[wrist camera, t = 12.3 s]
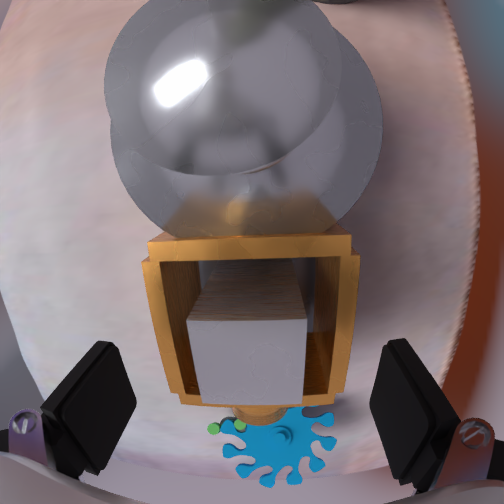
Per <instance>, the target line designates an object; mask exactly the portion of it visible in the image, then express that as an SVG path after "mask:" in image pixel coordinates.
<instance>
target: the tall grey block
mask: <svg viewBox="0 0 504 504" xmlns="http://www.w3.org/2000/svg"><path fill="white" fill-rule="evenodd" d="M186 322H187V328H188V334H189V340H190V345H191V350H192V356H193V361H194V366H195V371H196V376H197V381H198V385H199V390H200V395H201V399H202V403H208V404H227V405H287V404H302V396H303V384H304V370H305V354H306V336H307V316H306V312H305V308H304V304H303V300H302V296H301V292H300V288H299V284H298V280H297V276H296V272H295V269H294V265H293V261H292V258H267V259H235V260H219V261H218V263H217V264H216V266H215V268H214V270H213V272H212V273H211V275H210V277H209V279H208V281H207V283H206V284H205V286H204V288H203V290H202V292H201V294H200V296H199V297H198V299H197V301H196V303H195V305H194V307H193V309H192V310H191V312H190V314H189V316H188V318H187V320H186Z"/></svg>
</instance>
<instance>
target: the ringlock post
mask: <svg viewBox="0 0 504 504" xmlns="http://www.w3.org/2000/svg"><path fill="white" fill-rule="evenodd" d="M104 94H105V100H106V106H107V109H108V112H109V115H110V118H111V128H110V134H111V146H112V152H113V157H114V161H115V165H116V168H117V170H118V173H119V176H120V178H121V181H122V182H123V184H124V186H125V188H126V190H127V192H128V194H129V195H130V197H131V198H132V199H133V201H134V202H135V203H136V205H137V206H138V208H139V209H140V210H141V211H142V212H143V213H144V214H145V215H146V216H147V217H148V218H149V219H150V220H151V221H152V222H154V223H155V224H156V225H157V226H158V227H160V228H161V229H162V230H163V231H165V232H163V233H162V234H160V235H158V236H157V237H155V238H153V239H152V240H150V241H149V242H147V243H148V251H149V257H147V258H146V259H145V260H143V261H142V262H141V263H142V269H143V275H144V281H145V287H146V292H147V297H148V302H149V307H150V312H151V317H152V322H153V326H154V330H155V335H156V339H157V343H158V347H159V351H160V355H161V359H162V363H163V367H164V370H165V374H166V378H167V381H168V385H169V388H170V391H171V393H177V394H179V398H180V401H181V404H186V405H197V406H211V407H232V410H233V413H234V415H235V416H236V417H237V418H238V419H239V420H240V421H242V422H244V423H246V424H249V425H254V426H264V425H269V424H273V423H275V422H277V421H279V420H280V419H281V418H283V417H284V416H285V414H286V413H287V410H288V407H302V406H316V405H328V404H334V399H335V393H342V392H344V386H345V381H346V375H347V370H348V364H349V358H350V351H351V345H352V337H353V330H354V322H355V314H356V304H357V294H358V283H359V270H360V254H359V253H358V252H357V251H355V250H354V249H353V248H352V247H351V234H350V233H348V232H347V231H346V230H345V229H343V228H342V227H341V226H339V225H338V224H337V223H336V222H337V221H338V220H339V219H340V218H342V217H343V216H344V215H345V214H346V213H347V212H348V211H349V210H350V209H351V207H352V206H353V205H354V204H355V202H356V201H357V200H358V199H359V198H360V196H361V194H362V193H363V191H364V190H365V188H366V186H367V185H368V183H369V181H370V179H371V177H372V174H373V172H374V170H375V168H376V165H377V161H378V158H379V154H380V150H381V144H382V136H383V114H382V107H381V101H380V96H379V93H378V90H377V87H376V84H375V81H374V79H373V77H372V75H371V72H370V70H369V68H368V66H367V65H366V63H365V62H364V60H363V59H362V57H361V56H360V54H359V53H358V51H357V50H356V49H355V48H354V47H353V45H352V44H351V43H350V42H349V41H348V40H347V39H346V38H345V37H344V36H343V35H342V34H341V33H339V32H338V31H337V30H336V29H335V28H334V27H332V25H331V24H330V22H329V20H328V19H327V17H326V16H325V15H324V13H323V12H322V11H321V10H320V9H319V7H318V6H317V5H316V4H315V3H313V2H312V1H311V0H149V1H148V2H147V3H146V4H145V5H143V6H142V7H141V8H140V9H139V10H138V11H137V12H136V13H135V14H134V15H133V16H132V17H131V18H130V19H129V21H128V22H127V23H126V25H125V26H124V27H123V29H122V30H121V32H120V33H119V35H118V37H117V39H116V40H115V42H114V44H113V47H112V49H111V52H110V54H109V57H108V61H107V65H106V70H105V77H104ZM267 258H292V261H293V265H294V269H295V272H296V276H297V280H298V284H299V288H300V292H301V296H302V300H303V304H304V308H305V312H306V316H307V336H306V354H305V370H304V384H303V396H302V404H287V405H227V404H208V403H202V399H201V395H200V390H199V385H198V381H197V376H196V371H195V366H194V361H193V356H192V350H191V345H190V340H189V334H188V328H187V322H186V320H187V318H188V316H189V314H190V312H191V310H192V309H193V307H194V305H195V303H196V301H197V299H198V297H199V296H200V294H201V292H202V290H203V288H204V286H205V284H206V283H207V281H208V279H209V277H210V275H211V273H212V272H213V270H214V268H215V266H216V264H217V263H218V261H219V260H235V259H267Z"/></svg>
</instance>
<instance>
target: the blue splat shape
mask: <svg viewBox="0 0 504 504" xmlns="http://www.w3.org/2000/svg"><path fill="white" fill-rule="evenodd" d="M316 406H318V405H316ZM316 406H310V407H316ZM304 407H306V406H302V407H293V408H288V410H287V413H286V414H285V416H284V417H283V418H281V419H280V420H279V421H277V422H275V423H273V424H269V425H264V426H254V425H249V424H246V423H244V422H242V421H240V420H239V419H238V418H234V417H226V418H224V419H222V421H221V422H220V424H219V423H212V424H210V425H209V426H208V428H207V430H208V432H209V433H210V434H212V435H215V434H217V433H219V432H220V431H221V432H222V433H224V434H232V435H235V436H237V437H239V438H240V439H242V440H243V441H244V442H245V443H246V448H245V449H238V448H237V447H235V446H234V445H233V444H230V443H227V444H225V445H224V446H223V457H225V458H231V457H234V456H237V455H247V456H252V457H254V458H255V459H256V462H255V463H254V464H252V465H249V464H244V463H242V464H239V465H238V466H237V467H236V471H237V473H238V474H239V476H240V477H241V478H246V477H248V476H249V475H250V473H251V472H252V471H254V470H255V469H257V468H259V467H263V466H271V467H272V468H273V470H272V472H270V473H268V474H264V475H262V476H261V477H260V480H259V483H260V484H261V485H263V486H265V487H269V488H271V487H273V486H274V484H275V477H276V475H277V473H278V472H279V471H280V470H281V469H282V468H283V467H284V466H288V465H289V466H292V467H293V470H292V471H291V472H290V473H289V474H288V475H287V478H286V480H287V483H288V484H290V485H296V484H301V482H302V477H301V475H300V474H299V471H298V466H299V462H300V459H301V458H302V457H304V456H308V457H310V463H309V467H310V469H311V470H312V471H313V472H317V471H319V470H321V469H322V468H323V467H325V463H324V461H323V460H322V459H320V458H317V457H316V456H315V455H314V454H313V452H312V450H311V447H310V445H311V443H312V442H313V441H315V440H319V441H320V443H321V445H322V447H323V448H324V449H325V450H327V451H331V450H332V449H333V448H334V446H335V444H336V442H337V440H336V439H335V438H334V437H331V436H327V437H324V436H319V435H317V434H315V433H314V432H313V431H312V430H311V426H312V424H313V423H315V422H319V423H321V424H322V425H324V426H326V427H330V426H333V424H334V415H333V413H329V412H327V413H324V414H322V415H320V416H318V417H313V418H310V417H304V416H303V415H302V409H303V408H304Z"/></svg>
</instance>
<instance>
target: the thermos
mask: <svg viewBox="0 0 504 504" xmlns="http://www.w3.org/2000/svg"><path fill="white" fill-rule="evenodd" d="M311 1H315V2H320V3H326V4H346V3H349V2H353V1H357V0H311Z"/></svg>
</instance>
